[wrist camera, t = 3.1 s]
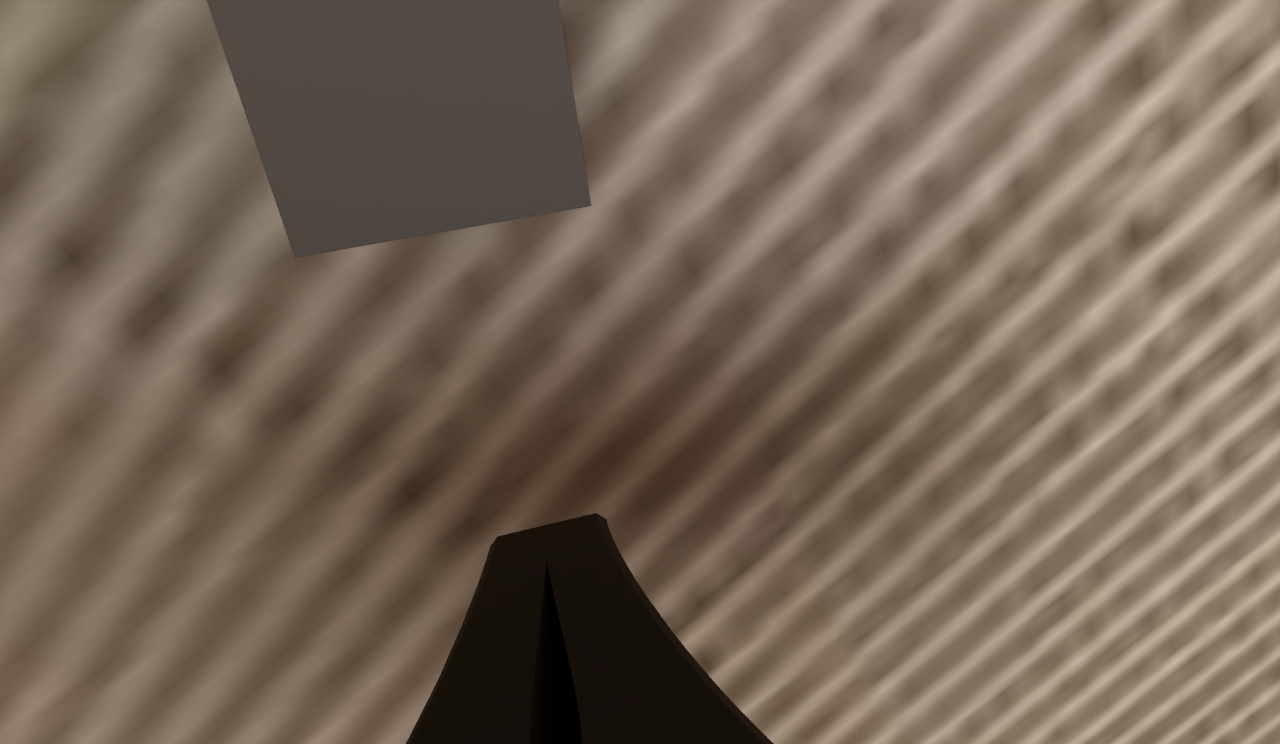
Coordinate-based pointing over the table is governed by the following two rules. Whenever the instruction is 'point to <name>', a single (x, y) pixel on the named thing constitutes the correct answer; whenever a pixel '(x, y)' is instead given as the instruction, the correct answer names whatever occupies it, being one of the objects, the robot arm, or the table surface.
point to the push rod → (405, 113)
